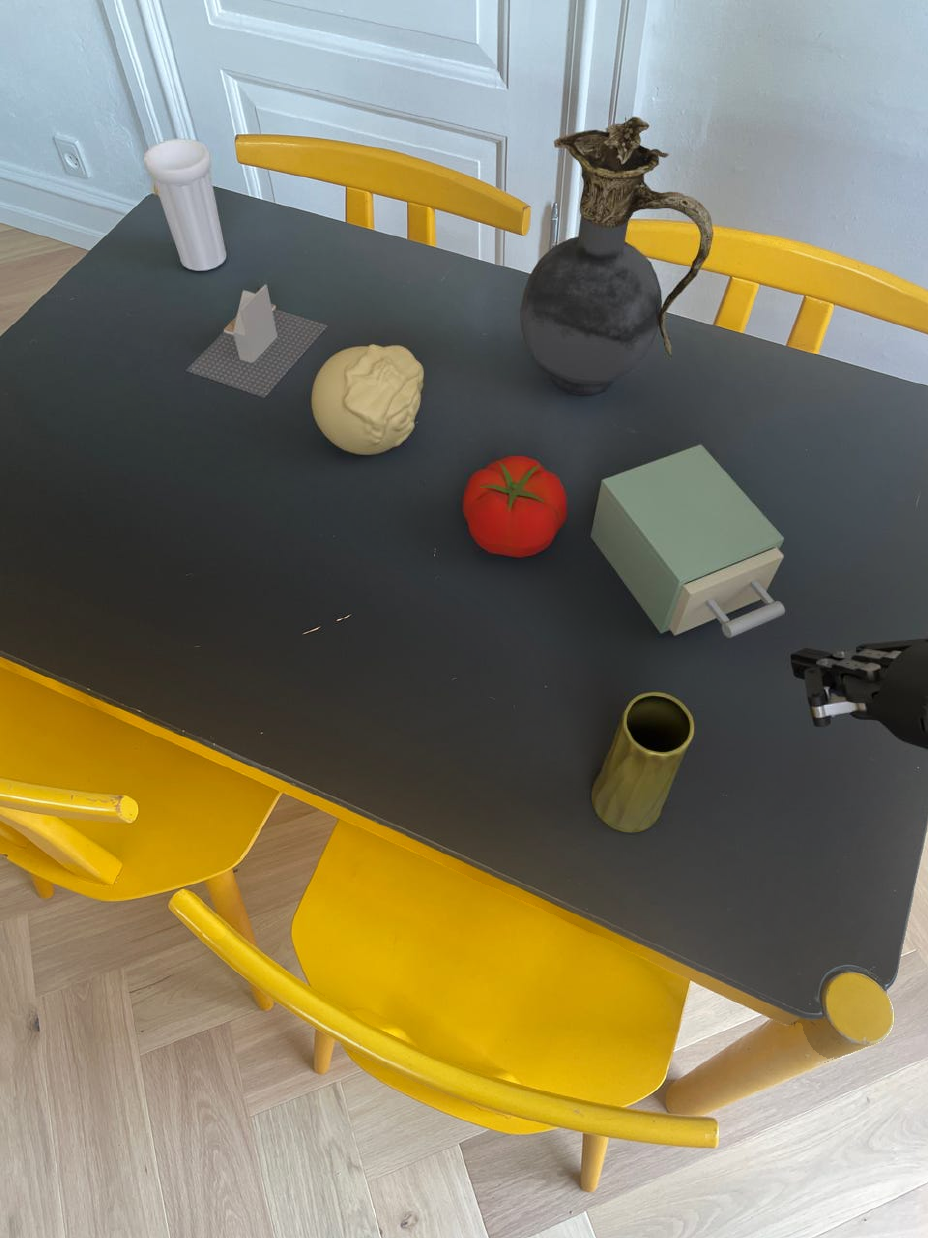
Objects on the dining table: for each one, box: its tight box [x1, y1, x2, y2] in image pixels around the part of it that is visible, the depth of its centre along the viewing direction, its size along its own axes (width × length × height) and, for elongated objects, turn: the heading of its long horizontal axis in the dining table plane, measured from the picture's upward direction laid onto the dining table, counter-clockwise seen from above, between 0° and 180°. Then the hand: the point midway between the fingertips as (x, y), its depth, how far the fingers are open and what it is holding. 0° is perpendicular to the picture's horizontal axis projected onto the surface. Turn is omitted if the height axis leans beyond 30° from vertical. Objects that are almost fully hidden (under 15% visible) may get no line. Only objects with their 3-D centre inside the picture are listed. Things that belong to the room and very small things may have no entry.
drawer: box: [668, 547, 786, 639], centre depth 83 cm, size 17×10×7 cm, turn 25°
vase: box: [590, 691, 695, 834], centre depth 68 cm, size 6×6×14 cm
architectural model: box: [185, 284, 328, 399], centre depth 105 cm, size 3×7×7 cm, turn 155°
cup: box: [143, 138, 227, 272], centre depth 112 cm, size 8×8×14 cm
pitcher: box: [519, 116, 714, 397], centre depth 92 cm, size 11×19×30 cm, turn 65°
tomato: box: [462, 455, 568, 559], centre depth 88 cm, size 11×11×8 cm
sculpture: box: [311, 343, 425, 456], centre depth 94 cm, size 12×12×11 cm
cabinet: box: [590, 444, 785, 634], centre depth 85 cm, size 14×12×9 cm
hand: (798, 661), depth 74 cm, fingers closed
